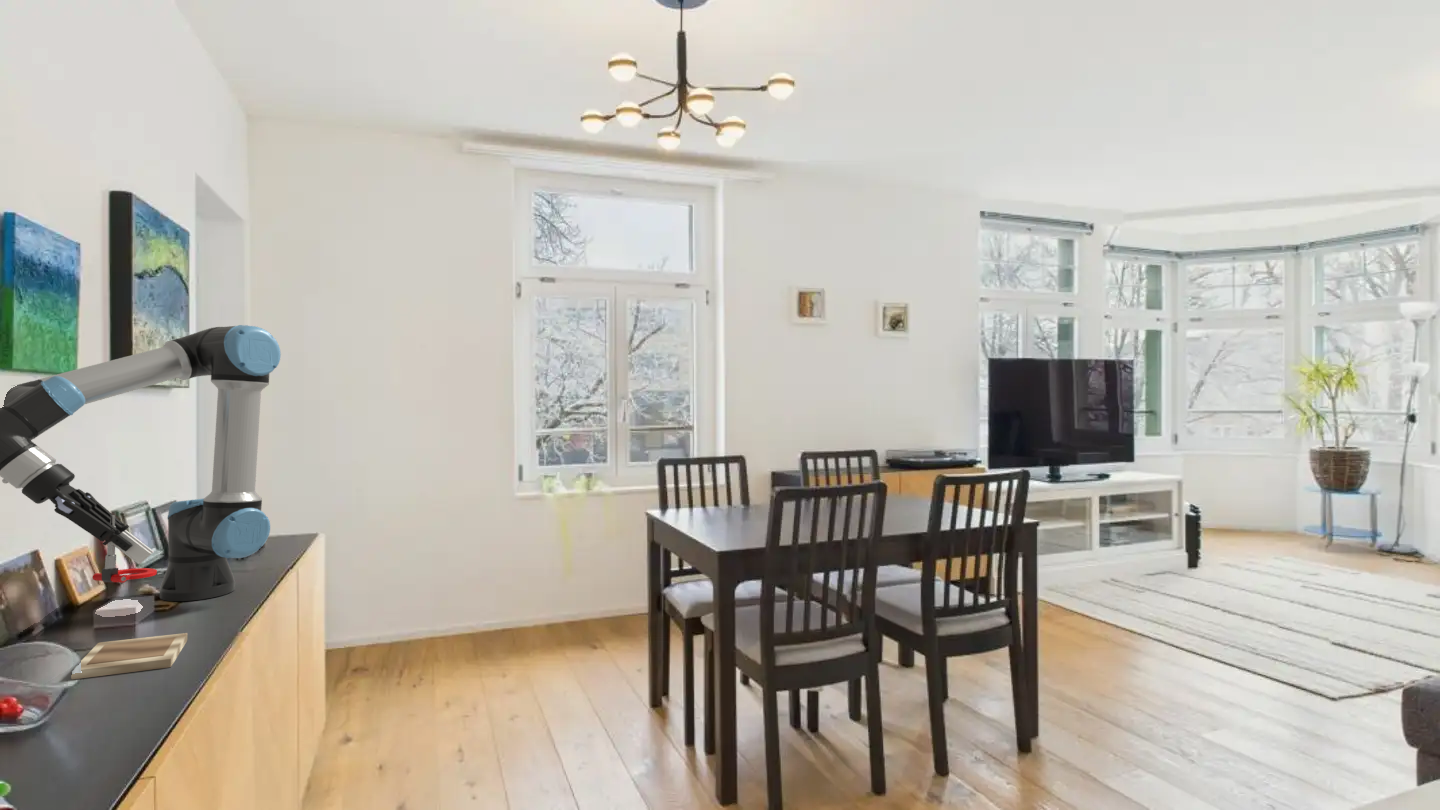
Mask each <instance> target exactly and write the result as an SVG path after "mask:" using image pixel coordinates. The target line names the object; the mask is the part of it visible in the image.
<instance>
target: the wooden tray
mask: <svg viewBox="0 0 1440 810" xmlns="http://www.w3.org/2000/svg"><path fill="white" fill-rule="evenodd" d="M186 643H188V632H185V633H184V632H183V633H175V634H166V635H155V636H147V637H146V636H145V637H137V638H131V639H121V640H120V639H119V640H118V639H117V640H111V641H109V640H108V641H102V642H97V644H96V645H95V646H93V648H92V649H91V650H90V651H89V652H88V653H87V654H86V655H85V656H84V657H83V658H82V659H81V660H80V661H81V671H82V673H75V674H72V675H71V674H70V676H71V679H70V680H79V679H87V678H95V677H102V676H111V675H119V674H126V673H134V672H142V671H151V670H159V669H167V668H171V667H173V664H174V663H175V662H176V660H177V659H178V657H179V655H180V653H181V651H182V650H183V648H184V647H185V645H186Z"/></svg>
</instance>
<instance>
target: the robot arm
mask: <svg viewBox="0 0 1440 810" xmlns="http://www.w3.org/2000/svg"><path fill="white" fill-rule="evenodd" d="M281 355H282V353H281V349H280V345H279V343H278V341H277V339H276V338H275V337H274V336H273V335H272V334H271V333H270V332H269V331H268V330H266V329H264V328H262V327H258V326H256V325H248V324H247V325H246V324H239V325H233V326H230V325H229V326H215V327H210V328H206V329H204V330H203V329H202V330H200V331H197V332H194V333H192V334H191V333H190V334H188V335H185V336H182V337H178V338H176V339H175V338H174V339H171V340H168V341H166V342H165V343H164V345H163V347H159V348H155V349H151V350H147V351H144V352H139V353H135V354H132V355H128V356H123V357H119V358H116V359H112V360H108V361H104V362H100V363H97V364H92V365H89V366H84V367H81V368H78V369H73V370H69V371H65V372H61V373H58V374H54V375H49V376H46V377H45V376H44V377H43V378H42V377H41V378H39V379H35V380H30V381H27V382H23V383H19V384H16V385H17V386H15V385H14V386H15V387H13V388H11V389H10V390H9V391H8V392H7V394H6V397H5V400H4V405H3V406H4V407H2V408H0V478H2V480H1V482H2V483H3V484H10V485H11V486H12V487H14V488H15V489H21V493H22V494H23V495H24V496H26V497H27V498H29V499H30V500H31V501H32V502H33V503H34V504H42V503H45V502H46V501H48V500H49V501H51V503H53V505H54V507H55V508H54V512H55V513H56V514H59V515H60V516H62V517H64V518H65V519H68V521H71V522H72V523H73V524H75V525H77V526H78V527H79V528H81V529H83V530H84V531H86V533H88V534H90V535H91V536H93V537H94V538H96V539H97V540H99V541H100V542H102V543H101V544H102V545H103V546H108V543H109V542H110V541H111V542H110V543H111V544H112V545H114V546H115V549H117V550H119V551H120V552H122V553H123V554H124V555H126V557H129V559H131V560H132V561H134V562H135V563H136V564H138V565H140V564H141V563H143V562H144V561H145V560H146V559H147V558H149V557H150V556H151V555H152V554H153V553H154V552H155V550H153V549H152V548H151V547H149V546H147V544H145V543H144V542H142V541H141V540H140V539H139V538H137V537H136V536H135V535H134V534H132V533H131V532H129V531H128V530H127V529H128V528H129V527H130V525H128V524H125V523H124V522H122V521H121V520H120V519H119V518H117V516H115V526H116V528H115V527H114V526H112V525H111V524H110V516H111V515H114V514H113V513H112V512H111V511H109V509H107V508H106V507H104V505H102V504H101V503H100V502H99V501H98V500H97V499H96V498H95V497H94V496H93V495H92V494H91V493H90V492H85V491H83V490H82V489H80V488H75V487H73V486H71V485H70V483H71V482H72V481H73V480H74V479H75V477H76V475H75V473H74V472H72V471H71V470H69V469H68V468H67V467H65V465H63V464H62V463H56V462H57V459H56V458H54V457H53V456H52V455H50V454H49V452H47V451H45V450H44V449H43V448H41V447H40V446H38V445H37V444H36V443H34V442H33V440H35V439H36V438H37V437H39V436H40V435H41V434H43V433H45V432H46V431H48V430H50V429H52V428H53V427H54V426H57V424H59V423H61V422H62V421H64V420H65V419H66V418H68V417H70V416H73V415H74V414H75V412H77V411H78V410H79V409H81V408H82V407H83V406H85V405H87V404H91V403H95V402H98V401H102V400H105V399H109V398H112V397H115V396H119V395H122V394H125V393H129V392H133V391H135V390H140V389H144V388H146V387H149V386H153V385H156V384H159V383H164V382H168V381H170V380H175V379H179V380H182V381H186V380H189V379H193V378H196V377H204V376H205V377H206V376H210V383H211V384H213V386H215V387H216V388H217V401H216V416H215V417H216V418H215V434H214V435H215V437H214V450H213V464H212V465H213V466H212V467H213V468H212V469H213V470H212V483H211V492H210V493H209V494H207V496H205V497H204V498H198V499H197V498H196V499H188V500H180V501H178V500H177V501H174V502H172V503H171V504H170V505H169V506H168V511H167V512H168V513H167V518H166V519H167V525H168V526H167V532H168V535H167V536H168V538H167V539H168V540H167V542H168V545H167V546H168V565H167V568H166V571H165V573H164V576H163V578H162V582H161V584H160V586H159V599H160V600H162V601H167V602H168V601H169V602H190V601H191V602H192V601H197V600H198V601H200V600H206V599H211V598H217V597H221V596H225V595H227V594H230V593H232V592H233V591H235V590H236V580H235V577H234V574H233V571H232V569H231V567H230V564H229V561H228V559H232V558H233V559H242V558H246V557H249V556H252V555H253V554H255V553H256V552H258V551H259V550H260V549H261V548H262V547H263V546H264V545H265V543H266V542H267V540H268V539H269V536H270V533H271V522H270V521H271V520H270V519H269V517H268V516H266V514H265V512H264V511H262V505H263V503H262V502H263V499H262V497H261V496H260V495H259V494H258V493H257V492H256V481H257V480H256V477H257V464H258V463H257V461H258V446H259V430H260V428H259V427H260V413H261V411H260V410H261V396H262V394H261V393H262V391H263V390H264V389H265V388H266V387H268V386H269V385H270V374H271V373H273V371H274V370H275V369H276V368H278V366H279V364H280V361H281Z"/></svg>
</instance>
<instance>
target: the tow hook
mask: <svg viewBox="0 0 1440 810" xmlns="http://www.w3.org/2000/svg"><path fill="white" fill-rule="evenodd" d="M115 517H116V515H114V514H113V515H111V516H110V524H111V525H112V526H114V527H115V528H116V526H115ZM110 542H111V541H110ZM110 542H109V543H108V544H107V550H106V553H107V554H105V558H104V559H105V561H104V564H105V565H104V568H102V569H101V572H100V573H99V572H96V573H94V574H93V575H92V580H94V581H97V582H98V581H99V582H104V583H121V584H123V583H125V582H126V581H128V580H138V579H146V578H151V577H153V576H156V575H157V574H158V573H157V572H158V569H155V568H151V567H150V568H148V567H147V568H145V567H141V568H140V567H138V568H126V569H125V568H124V569H123V568H122V569H119V567H117V566H116V564H117V554H116V547H115V546H114V545H112V544H111V543H110Z"/></svg>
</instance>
